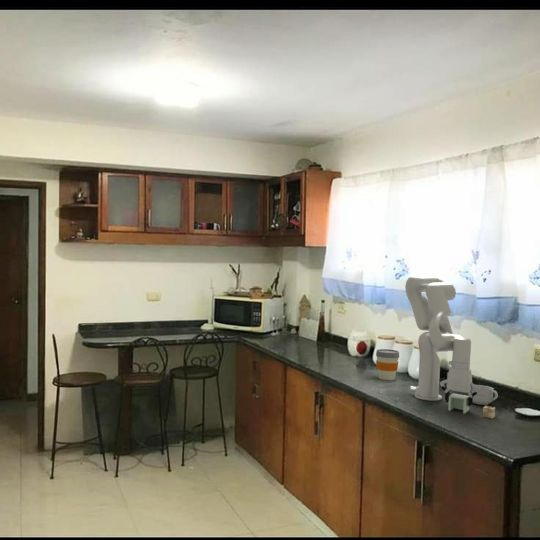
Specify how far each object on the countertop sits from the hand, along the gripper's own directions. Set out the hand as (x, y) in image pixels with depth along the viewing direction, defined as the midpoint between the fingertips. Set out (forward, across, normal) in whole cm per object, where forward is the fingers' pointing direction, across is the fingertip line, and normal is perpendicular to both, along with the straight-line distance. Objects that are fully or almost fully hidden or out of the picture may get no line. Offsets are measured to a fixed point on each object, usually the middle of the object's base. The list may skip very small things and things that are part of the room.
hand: (458, 403), depth 255 cm
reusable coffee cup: (+4, -50, +40) cm, 64 cm away
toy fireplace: (+3, 0, 0) cm, 3 cm away
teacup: (+3, +6, +19) cm, 20 cm away
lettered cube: (+3, +13, -1) cm, 14 cm away
